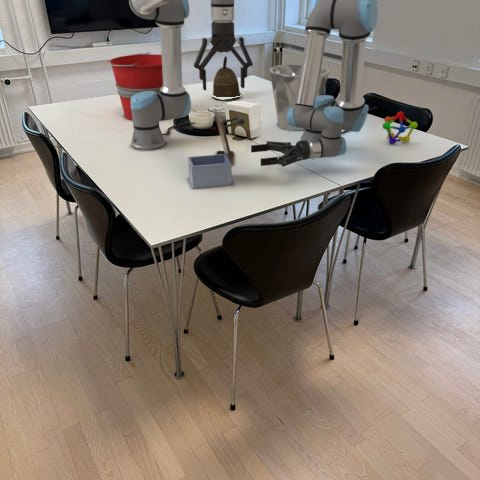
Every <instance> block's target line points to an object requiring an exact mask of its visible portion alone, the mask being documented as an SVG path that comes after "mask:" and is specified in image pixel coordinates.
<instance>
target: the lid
mask: <svg viewBox="0 0 480 480" xmlns="http://www.w3.org/2000/svg"><path fill="white" fill-rule="evenodd" d="M214 116H215V120H216V125H217V128H218V132H219V136H220V141H221V144H222V148H223V151H224V153H225V154H226V156H227V158H228V159H229V161H230V162H232V161H233V160H234V159H233V160H232V156H231V152H230V151H231V149H230V145H229V140H228V136H227V132H226V128H229V127H234V126H237V125H241V126H242V125H245V123H246V120H245V119H244V118H243V117H242V115H241V114H236V115H235V117H232V118H229V119H226V120H223V119H222V118H221V116H220V115H219V114H218V113H215V114H214ZM233 121H235V122H233ZM229 122H231V123H229ZM227 123H229V124H227ZM225 124H226V125H225ZM233 162H234V161H233ZM233 162H232V163H233Z"/></svg>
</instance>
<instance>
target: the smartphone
mask: <svg viewBox="0 0 480 480" xmlns="http://www.w3.org/2000/svg"><path fill="white" fill-rule="evenodd" d="M230 152H231V156H232V160H234V151H233V150H230ZM218 154H225V153H224V150H217V151H216V155H218ZM233 162H234V161H232V162H231V165H233Z"/></svg>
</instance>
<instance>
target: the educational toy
mask: <svg viewBox="0 0 480 480" xmlns="http://www.w3.org/2000/svg"><path fill="white" fill-rule="evenodd" d="M397 119H399V124H400V125H399V127H398V126H393V125H391V124H392V123H394V122H395V121H396V120H397ZM403 120H404V121H405V122H407V123H408V124H409V125H407V126H404V123H403ZM417 127H418V122H417V121H411V120H410V119H409V118H408V117H406V116H405V113H404V112H403V111H401V110H400V111H398V112H397V114H396V115H394V116H391V117H390V116H386V117H385V118H384V122H383V123H382V129H383V130H386V132H387V138H388V142H389V145H395V144H396V143H397V142H402V141H403V142H404V143H409V142H410V140H411V138H410V136H411V134H412V132H413V131H414V130H415V129H417ZM392 129H393V130H397V131H398V132H396V134H395V133H394V132H392ZM408 129H409V131H408V133H407V134H406V135H404V136H401V134H403V133H405V132H406V130H408ZM399 135H400V136H399Z"/></svg>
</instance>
